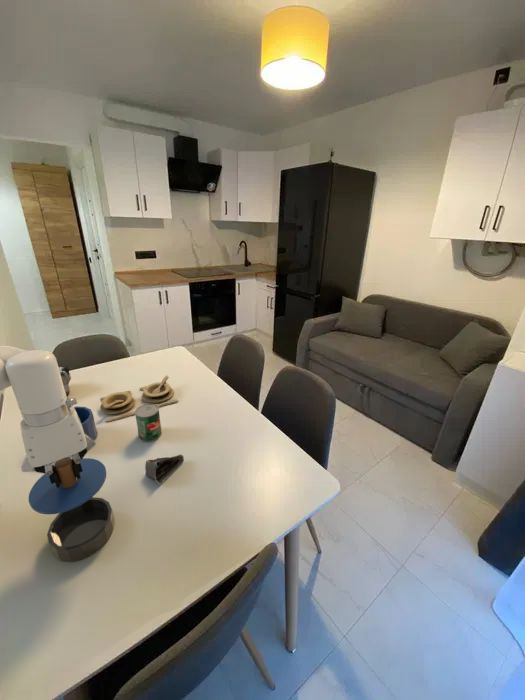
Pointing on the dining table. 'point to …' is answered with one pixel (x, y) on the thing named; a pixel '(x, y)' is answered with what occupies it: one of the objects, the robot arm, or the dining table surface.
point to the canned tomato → (148, 422)
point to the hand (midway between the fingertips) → (68, 478)
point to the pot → (87, 421)
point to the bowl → (81, 530)
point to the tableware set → (125, 400)
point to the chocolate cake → (163, 467)
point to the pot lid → (67, 486)
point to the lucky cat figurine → (65, 378)
